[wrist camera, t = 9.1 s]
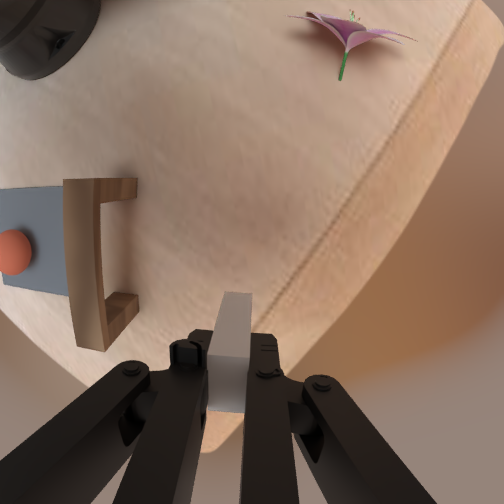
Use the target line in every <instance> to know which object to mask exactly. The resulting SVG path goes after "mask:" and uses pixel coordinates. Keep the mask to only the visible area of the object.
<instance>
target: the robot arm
mask: <svg viewBox="0 0 504 504" xmlns="http://www.w3.org/2000/svg"><path fill="white" fill-rule="evenodd" d="M99 11H100V0H0V63H1V64H2V65H3V66H4V67H5V68H6V70H7V71H8V72H9V73H11V74H12V75H14V76H17V77H20V78H23V79H26V80H34V79H39V78H42V77H44V76H47V75H49V74H50V73H52V72H54V71H55V70H57V69H58V68H60V67H61V66H62V65H63V64H65V63H66V62H67V61H68V60H69V59H70V58H71V57H72V56H73V55H74V54H75V53H76V52H77V51H78V50H79V48H80V47H81V46H82V45H83V43H84V42H85V41H86V39H87V38H88V36H89V35H90V33H91V31H92V29H93V27H94V25H95V23H96V21H97V18H98V15H99ZM251 312H252V293H238V292H224V296H223V299H222V303H221V306H220V310H219V314H218V317H217V321H216V324H215V328H214V331H211V330H200V329H195V330H194V331H193V332H191V333H190V334H189V336H188V338H187V339H182V340H177V341H175V342H173V343H171V345H170V346H169V348H170V363H171V365H170V367H169V369H166V370H161V371H149V367H148V366H147V365H146V364H145V363H143V362H141V361H136V360H129V361H125V362H122V363H120V364H118V365H117V366H115V367H114V368H113V369H112V370H111V371H109V372H108V373H107V374H106V375H104V376H103V377H102V378H101V379H100V380H98V381H97V382H96V383H95V384H93V385H92V386H91V387H90V388H89V389H87V390H86V391H85V392H84V393H83V394H81V395H80V396H79V397H78V398H76V399H75V400H74V401H73V402H71V403H70V404H69V405H68V406H67V407H65V408H64V409H63V410H62V411H61V412H59V413H58V414H57V415H56V416H54V417H53V418H52V419H51V420H49V421H48V422H47V423H46V424H45V425H43V426H42V427H41V428H40V429H38V430H37V431H36V432H35V433H34V434H32V435H31V436H30V437H29V438H27V440H25V441H24V442H23V443H21V444H20V445H19V446H18V447H16V448H15V449H14V450H13V451H12V452H10V453H9V454H8V455H7V456H5V457H4V458H3V459H2V460H1V461H0V504H91V502H92V501H93V500H94V499H95V498H96V497H97V495H98V494H99V493H100V492H101V491H102V489H103V488H104V487H105V486H106V485H107V483H108V482H109V481H110V480H111V479H112V477H113V476H114V475H115V474H116V473H117V471H118V470H119V469H120V468H121V466H122V465H123V464H124V463H125V462H126V461H127V459H128V458H129V457H130V456H131V454H132V453H133V454H132V457H131V459H130V461H129V463H128V466H127V468H126V471H125V473H124V476H123V478H122V481H121V483H120V486H119V488H118V491H117V493H116V496H115V498H114V501H113V503H112V504H190V502H191V496H192V491H193V486H194V480H195V475H196V469H197V465H198V459H199V454H200V449H201V444H202V439H203V434H204V429H205V424H206V408H207V404H208V410H211V411H221V412H233V413H245V415H244V429H243V447H242V465H241V483H240V499H239V504H299V497H298V486H297V477H296V469H295V460H294V452H293V443H292V434H291V433H294V438H295V440H296V442H297V444H298V446H299V448H300V450H301V452H302V454H303V456H304V458H305V460H306V462H307V464H308V466H309V468H310V470H311V472H312V474H313V476H314V478H315V480H316V482H317V484H318V486H319V487H320V489H321V491H322V493H323V495H324V497H325V499H326V501H327V503H328V504H437V503H436V502H435V501H434V499H433V498H432V497H431V496H430V495H429V494H428V492H427V491H426V490H425V489H424V487H423V486H422V485H421V484H420V483H419V481H418V480H417V479H416V478H415V477H414V475H413V474H412V473H411V471H410V470H409V469H408V468H407V467H406V465H405V464H404V463H403V462H402V460H401V459H400V458H399V457H398V455H397V454H396V453H395V452H394V451H393V449H392V448H391V447H390V446H389V444H388V443H387V442H386V441H385V440H384V438H383V437H382V436H381V435H380V433H379V432H378V431H377V429H375V427H374V426H373V425H372V423H371V422H370V421H369V420H368V418H367V417H366V416H365V415H364V414H363V412H362V411H361V410H360V408H359V407H358V406H357V405H356V403H355V402H354V401H353V399H352V398H351V397H350V396H349V395H348V393H347V392H346V391H345V389H344V388H343V387H342V386H341V384H340V383H339V382H338V381H337V380H336V379H334V378H332V377H330V376H327V375H313V376H309V377H308V378H307V379H305V382H304V383H303V382H298V381H294V380H291V379H289V378H287V377H286V376H284V373H283V370H282V369H281V368H280V361H279V353H278V344H277V339H276V338H275V337H274V336H273V335H272V334H263V333H251Z"/></svg>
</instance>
